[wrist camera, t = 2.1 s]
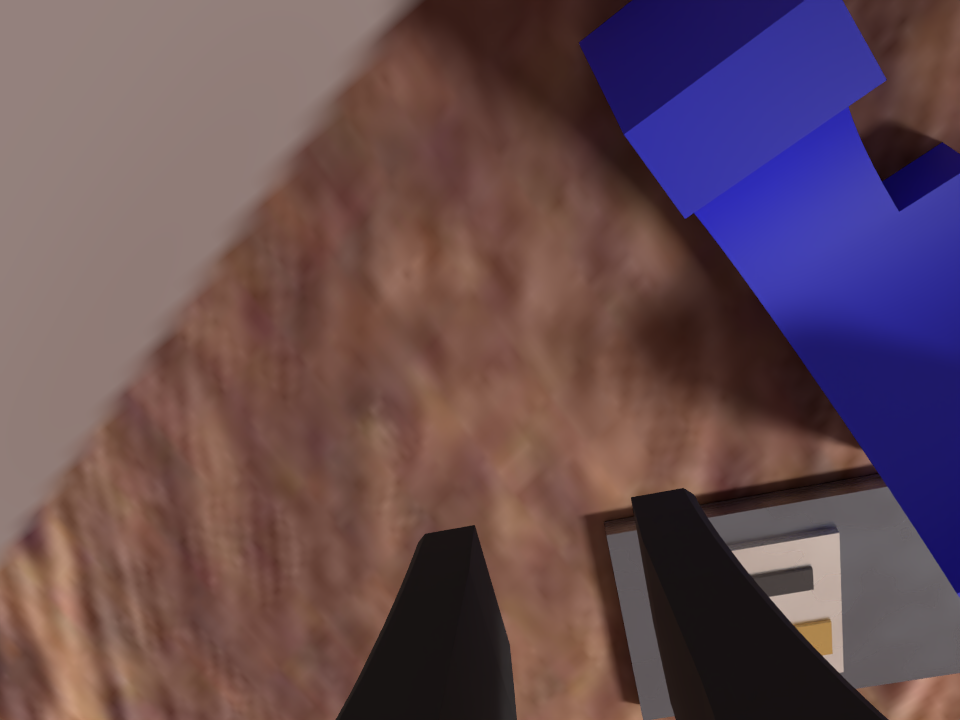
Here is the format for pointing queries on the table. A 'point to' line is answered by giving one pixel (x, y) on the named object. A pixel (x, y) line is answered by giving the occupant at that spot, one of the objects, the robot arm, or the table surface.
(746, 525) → the label board
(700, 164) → the cable clip
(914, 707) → the table surface
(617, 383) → the table surface
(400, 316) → the table surface
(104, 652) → the table surface
